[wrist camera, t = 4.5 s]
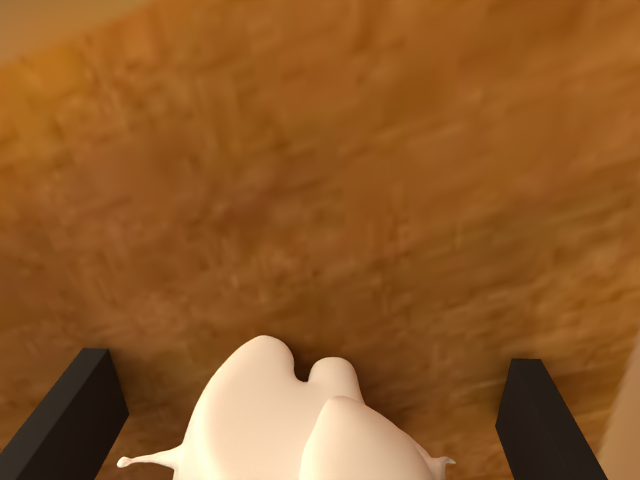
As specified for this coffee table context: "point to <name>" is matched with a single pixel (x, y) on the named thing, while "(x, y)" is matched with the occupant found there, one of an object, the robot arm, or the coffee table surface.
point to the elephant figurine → (291, 426)
